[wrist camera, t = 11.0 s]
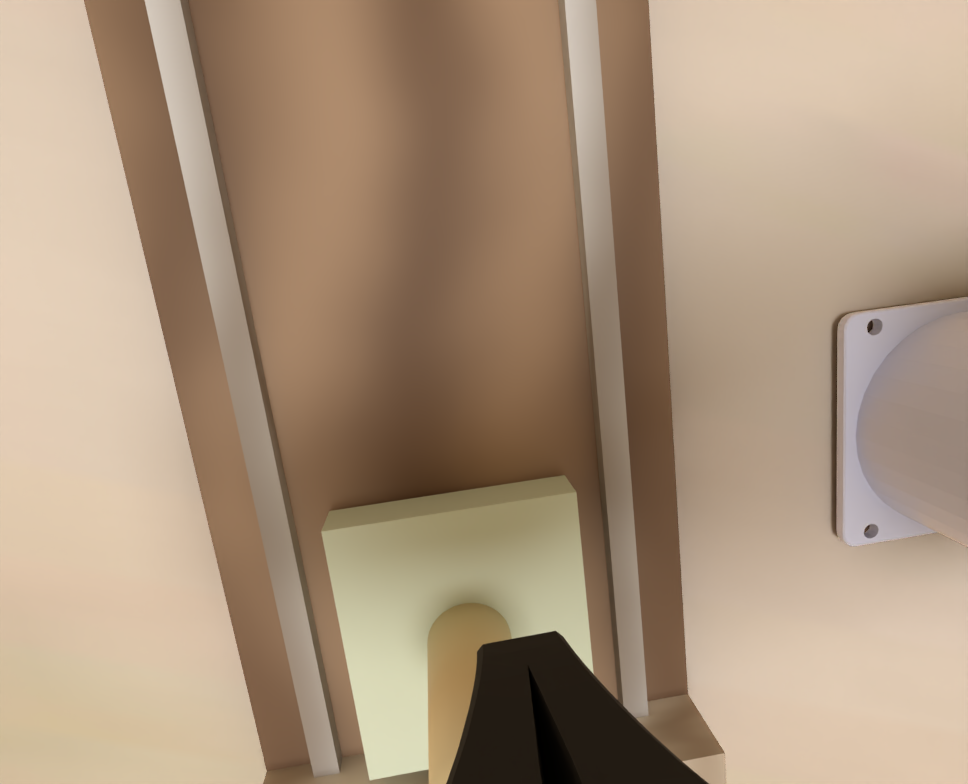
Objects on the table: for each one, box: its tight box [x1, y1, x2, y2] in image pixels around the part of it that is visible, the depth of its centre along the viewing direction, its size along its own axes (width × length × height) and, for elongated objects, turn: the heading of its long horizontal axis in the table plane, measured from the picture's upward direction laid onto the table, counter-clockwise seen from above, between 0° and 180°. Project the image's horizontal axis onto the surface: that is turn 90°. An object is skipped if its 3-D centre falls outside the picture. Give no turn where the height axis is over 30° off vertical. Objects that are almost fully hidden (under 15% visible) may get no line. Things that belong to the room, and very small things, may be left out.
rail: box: [84, 0, 726, 784], centre depth 16 cm, size 14×32×4 cm, turn 7°
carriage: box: [321, 475, 594, 784], centre depth 15 cm, size 7×8×6 cm
